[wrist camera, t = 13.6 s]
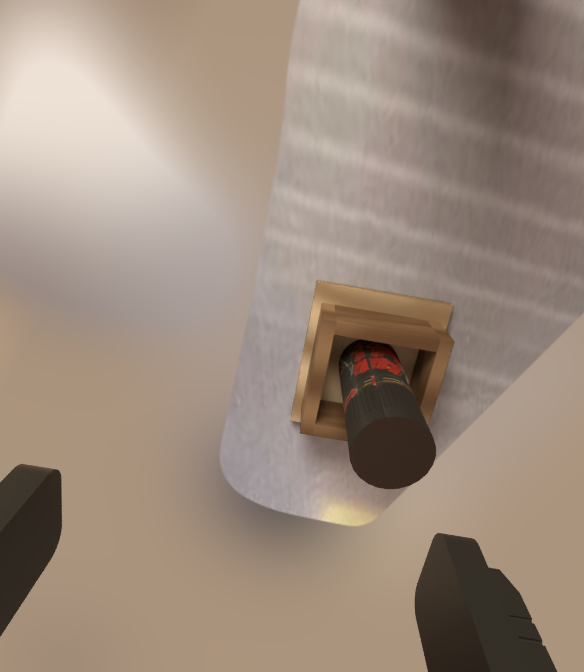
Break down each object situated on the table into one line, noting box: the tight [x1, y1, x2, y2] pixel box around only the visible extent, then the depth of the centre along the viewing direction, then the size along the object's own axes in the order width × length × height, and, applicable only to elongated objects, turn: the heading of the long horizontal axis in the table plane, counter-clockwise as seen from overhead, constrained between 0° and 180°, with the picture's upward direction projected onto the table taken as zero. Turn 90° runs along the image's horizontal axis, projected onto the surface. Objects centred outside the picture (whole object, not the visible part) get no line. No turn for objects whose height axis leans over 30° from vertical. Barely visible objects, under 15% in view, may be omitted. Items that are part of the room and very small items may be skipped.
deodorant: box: [339, 339, 436, 489], centre depth 40 cm, size 6×6×15 cm
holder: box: [291, 280, 454, 441], centre depth 45 cm, size 15×13×6 cm
